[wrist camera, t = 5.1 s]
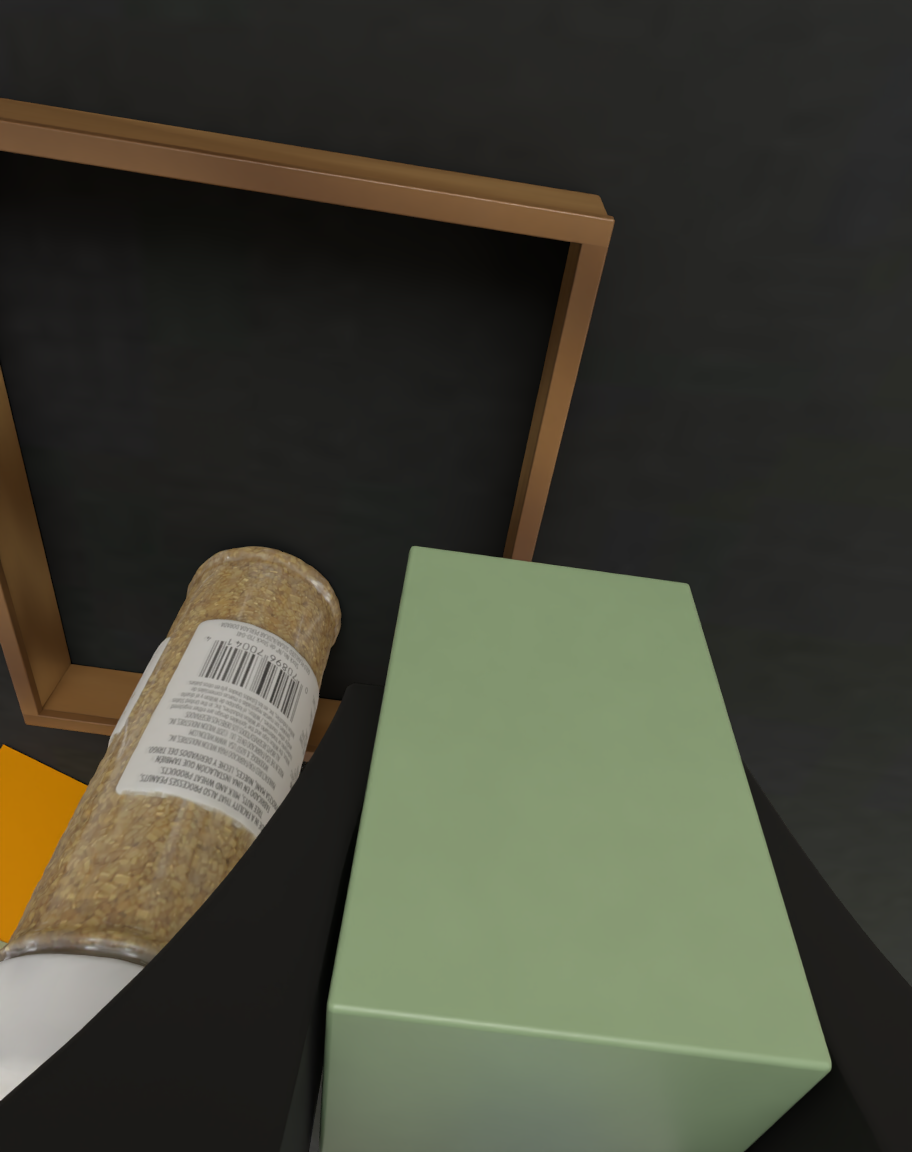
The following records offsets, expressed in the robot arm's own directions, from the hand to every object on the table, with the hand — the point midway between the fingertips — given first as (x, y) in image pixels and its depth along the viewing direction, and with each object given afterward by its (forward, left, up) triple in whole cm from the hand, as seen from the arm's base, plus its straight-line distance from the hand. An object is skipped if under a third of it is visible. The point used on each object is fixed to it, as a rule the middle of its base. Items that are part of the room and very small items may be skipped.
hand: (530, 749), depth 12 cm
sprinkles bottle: (-6, +7, -10) cm, 13 cm away
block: (0, 0, -2) cm, 2 cm away
